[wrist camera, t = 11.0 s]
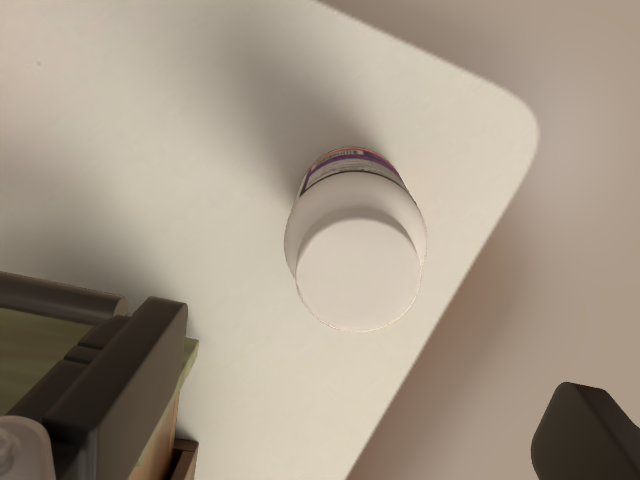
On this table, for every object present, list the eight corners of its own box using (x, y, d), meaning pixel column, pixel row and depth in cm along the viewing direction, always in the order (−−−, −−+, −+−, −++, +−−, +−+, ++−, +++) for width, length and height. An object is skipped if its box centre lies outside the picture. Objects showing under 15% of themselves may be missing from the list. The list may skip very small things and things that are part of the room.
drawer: (-5, 220, 24) (-161, 287, 16) (208, 264, 24) (149, 349, 17) (9, 475, 30) (-98, 604, 23) (178, 507, 30) (125, 645, 23)
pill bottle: (374, 262, 24) (392, 375, 15) (283, 221, 24) (246, 313, 15) (423, 173, 23) (478, 241, 13) (326, 126, 22) (315, 164, 13)
